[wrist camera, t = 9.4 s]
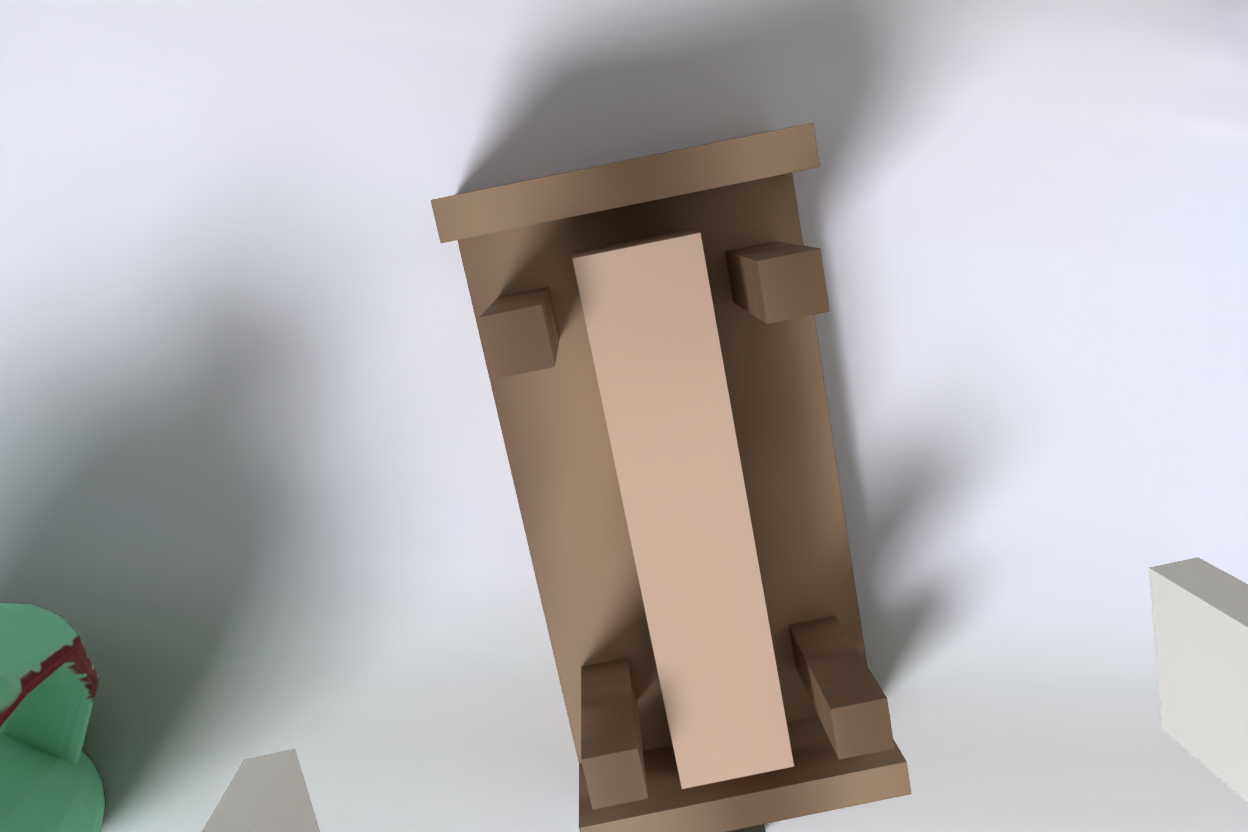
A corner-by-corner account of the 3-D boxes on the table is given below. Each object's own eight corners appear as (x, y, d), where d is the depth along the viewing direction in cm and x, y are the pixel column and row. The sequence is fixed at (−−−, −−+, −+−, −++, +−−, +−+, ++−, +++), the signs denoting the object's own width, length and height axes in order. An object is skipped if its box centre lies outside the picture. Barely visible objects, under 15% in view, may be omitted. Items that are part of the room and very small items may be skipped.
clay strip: (669, 718, 28) (682, 789, 25) (573, 252, 25) (572, 258, 22) (768, 698, 28) (794, 766, 25) (684, 229, 25) (700, 232, 22)
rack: (586, 773, 30) (587, 910, 24) (453, 197, 26) (416, 194, 20) (866, 716, 30) (935, 840, 24) (776, 132, 26) (833, 110, 20)
